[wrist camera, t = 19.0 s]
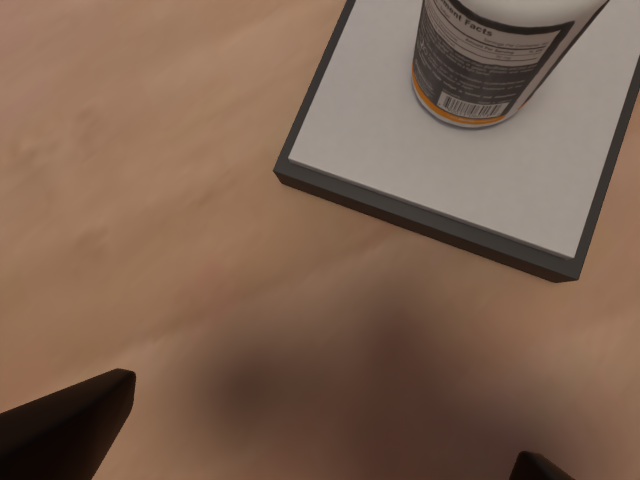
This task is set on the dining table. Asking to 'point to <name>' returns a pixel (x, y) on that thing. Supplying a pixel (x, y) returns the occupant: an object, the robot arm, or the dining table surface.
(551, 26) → the pill bottle
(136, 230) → the dining table surface
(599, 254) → the dining table surface
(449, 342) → the dining table surface
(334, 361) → the dining table surface
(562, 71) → the kitchen scale
